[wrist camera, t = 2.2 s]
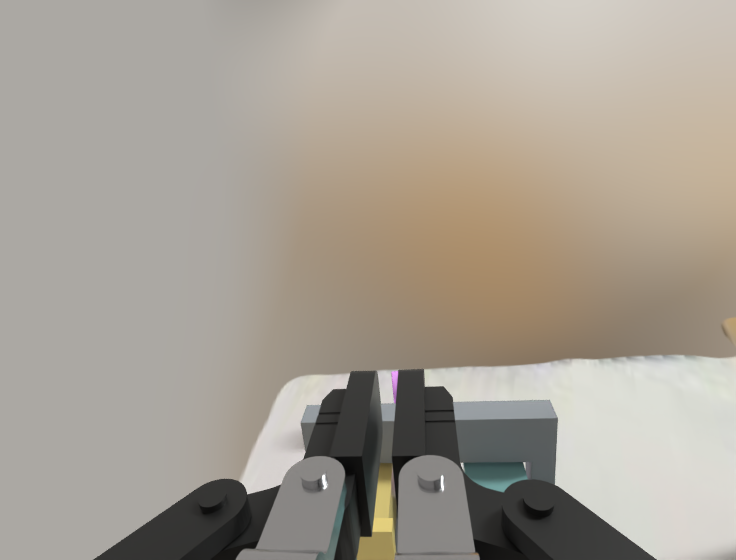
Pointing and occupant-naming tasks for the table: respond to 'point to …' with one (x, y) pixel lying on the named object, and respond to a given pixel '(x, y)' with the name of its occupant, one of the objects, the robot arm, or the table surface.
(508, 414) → the panel
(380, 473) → the mustard button
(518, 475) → the teal button
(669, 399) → the table surface
